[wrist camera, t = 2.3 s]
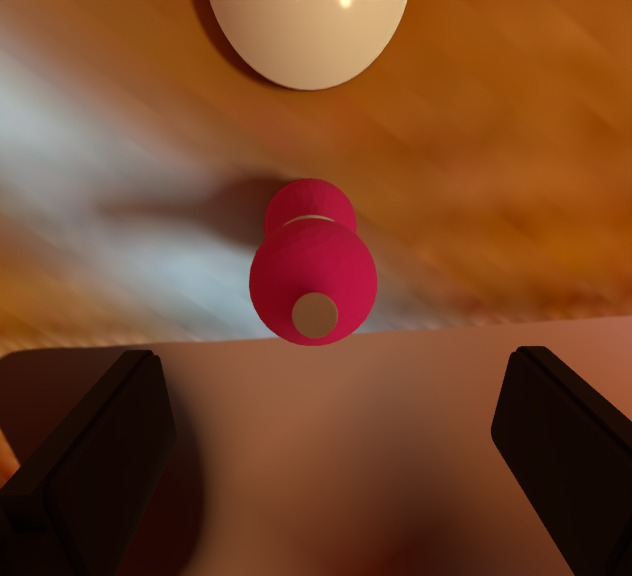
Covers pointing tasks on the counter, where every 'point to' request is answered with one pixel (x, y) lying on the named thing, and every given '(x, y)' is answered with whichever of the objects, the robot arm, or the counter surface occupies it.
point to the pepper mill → (312, 266)
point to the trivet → (308, 37)
